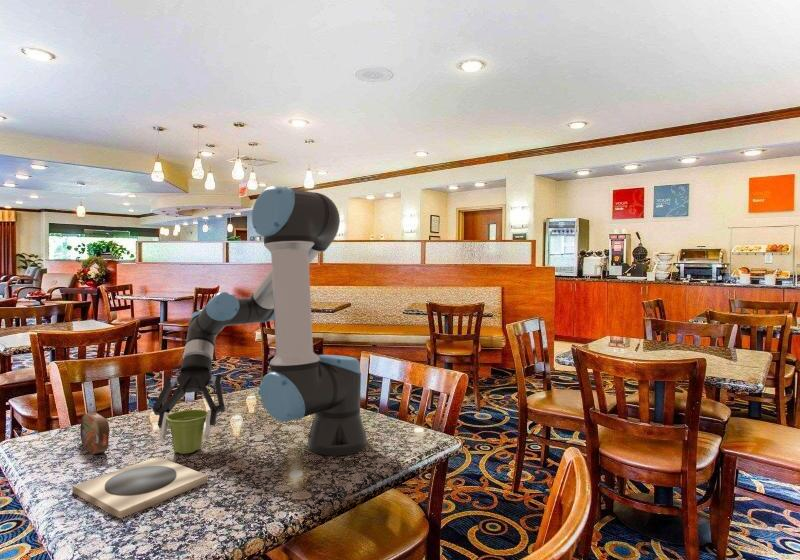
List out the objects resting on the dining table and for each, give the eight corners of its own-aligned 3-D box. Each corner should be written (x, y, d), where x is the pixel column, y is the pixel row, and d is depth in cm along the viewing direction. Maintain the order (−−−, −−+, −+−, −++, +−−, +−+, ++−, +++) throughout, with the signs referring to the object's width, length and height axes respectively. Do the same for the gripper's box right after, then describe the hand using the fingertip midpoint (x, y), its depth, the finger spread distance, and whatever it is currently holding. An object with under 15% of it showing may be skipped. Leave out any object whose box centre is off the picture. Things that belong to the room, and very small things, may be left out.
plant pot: (167, 445, 121) (167, 411, 121) (207, 440, 125) (207, 407, 124) (165, 459, 112) (165, 422, 112) (208, 453, 116) (208, 418, 116)
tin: (79, 442, 123) (79, 410, 123) (93, 439, 125) (93, 407, 125) (96, 459, 113) (96, 423, 112) (111, 455, 115) (111, 420, 115)
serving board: (207, 482, 101) (207, 473, 101) (119, 519, 86) (119, 509, 86) (158, 462, 111) (158, 454, 111) (72, 492, 96) (72, 484, 96)
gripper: (240, 366, 135) (234, 442, 120) (156, 369, 131) (138, 448, 115) (238, 351, 130) (231, 428, 115) (150, 353, 125) (130, 434, 110)
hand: (184, 438), depth 115 cm, fingers closed on plant pot, 9 cm apart
